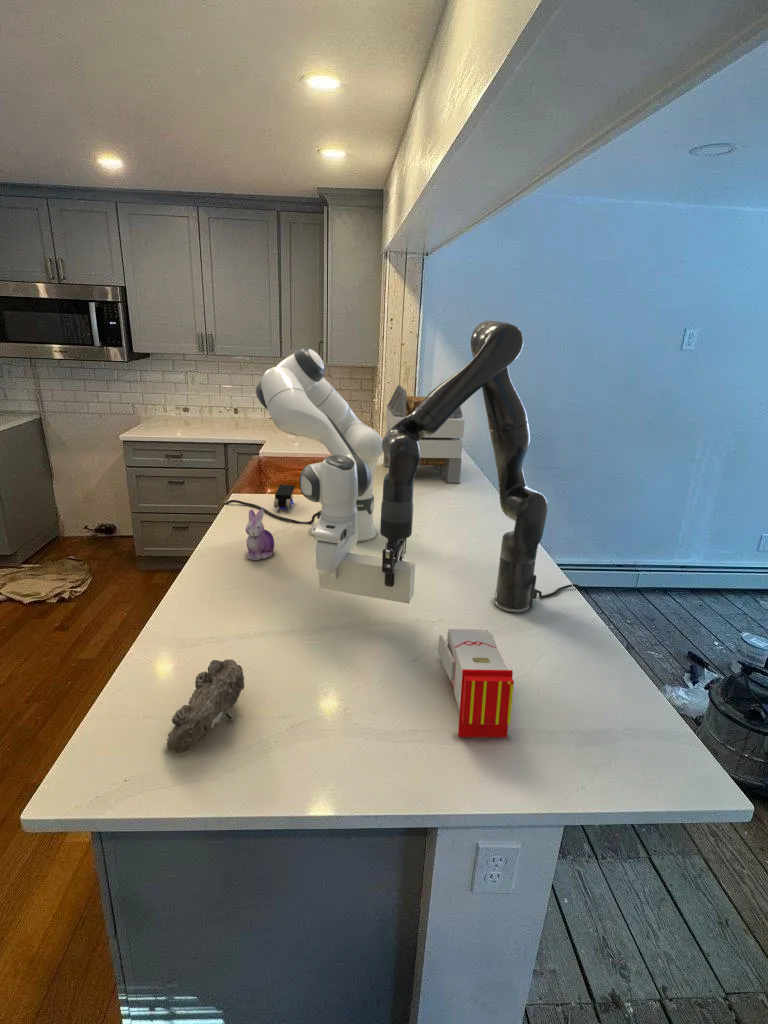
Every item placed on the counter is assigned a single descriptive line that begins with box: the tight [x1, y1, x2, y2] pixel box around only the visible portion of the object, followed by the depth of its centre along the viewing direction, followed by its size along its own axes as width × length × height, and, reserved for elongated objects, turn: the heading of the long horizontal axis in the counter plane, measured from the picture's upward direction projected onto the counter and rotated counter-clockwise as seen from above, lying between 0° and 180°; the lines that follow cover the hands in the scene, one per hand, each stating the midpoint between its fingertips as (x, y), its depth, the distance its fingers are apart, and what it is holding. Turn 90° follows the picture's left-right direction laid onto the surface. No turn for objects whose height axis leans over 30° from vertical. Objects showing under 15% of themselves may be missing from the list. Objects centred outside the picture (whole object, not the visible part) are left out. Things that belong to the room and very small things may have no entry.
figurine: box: [245, 507, 275, 561], centre depth 176 cm, size 9×10×15 cm
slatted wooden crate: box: [383, 384, 465, 484], centre depth 268 cm, size 34×33×41 cm
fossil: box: [166, 658, 245, 754], centre depth 106 cm, size 22×10×15 cm
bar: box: [318, 552, 416, 605], centre depth 141 cm, size 23×5×9 cm, turn 74°
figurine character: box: [273, 484, 296, 513], centre depth 219 cm, size 7×8×15 cm
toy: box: [437, 628, 515, 738], centre depth 117 cm, size 12×13×30 cm
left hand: (338, 574), depth 143 cm, fingers closed on bar, 5 cm apart
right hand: (393, 579), depth 139 cm, fingers open, 7 cm apart
